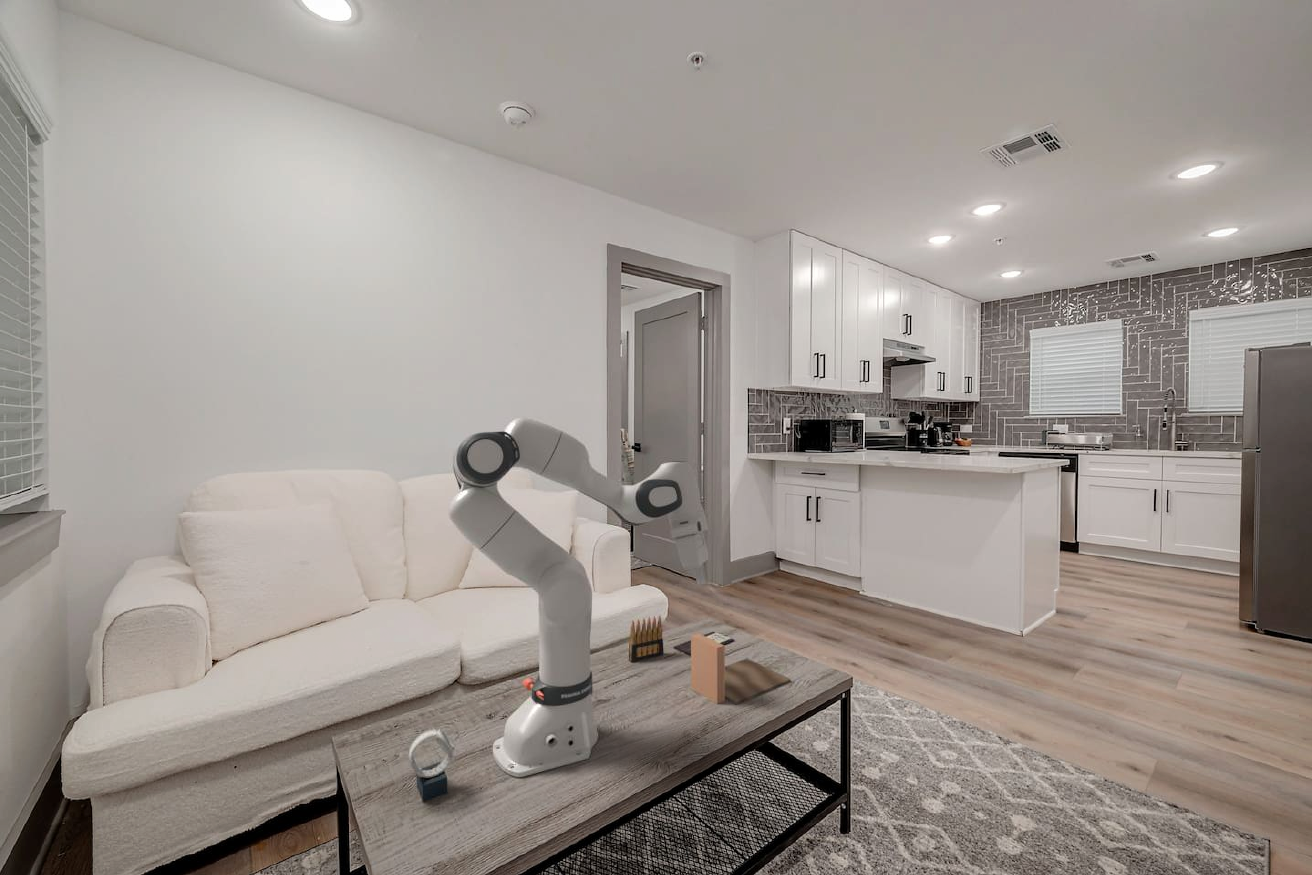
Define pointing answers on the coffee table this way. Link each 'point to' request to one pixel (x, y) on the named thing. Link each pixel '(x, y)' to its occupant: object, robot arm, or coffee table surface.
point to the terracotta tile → (708, 668)
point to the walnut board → (749, 680)
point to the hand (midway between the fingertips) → (701, 583)
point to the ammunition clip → (646, 640)
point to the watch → (432, 767)
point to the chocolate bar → (713, 636)
